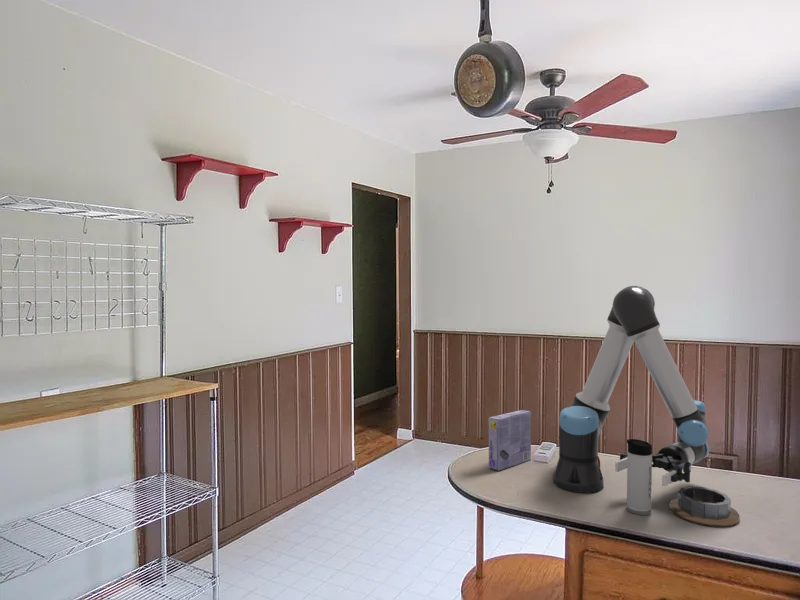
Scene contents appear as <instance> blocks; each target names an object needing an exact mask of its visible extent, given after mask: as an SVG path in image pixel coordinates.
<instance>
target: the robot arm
mask: <svg viewBox="0 0 800 600" xmlns="http://www.w3.org/2000/svg"><path fill="white" fill-rule="evenodd" d="M612 301H613V302H612V307H611V310H610V311H609V314H608V317H607V318H606V321H607V324H608V325H609V326H608V330H607V331H606V335H605V336H604V339H603V340H602V343H601V346H600V349H599V351H598V353H597V356H596V358H595V360H594V362H593V366H592V368H591V370H590V372H589V374H588V377H587V380H585V381H586V382H585V384H584V387H583V389H582V391H580V392H577V393H576V394H575V395H574V399H572V400H573V401H572V403H571V405H570V406H568V407H565V408H563V409H562V410H561V411H560V413H559V418H558V424H559V427H558V428H559V430H558V431H559V432H558V433H559V437H558V438H559V439H558V441H559V448H558V450H559V451H558V461H557V463H556V465H555V470H554V472H553V475H552V477H553V479H552V483H553V484H554V485H555V486H557V487H558V488H560V489H561V490H565V491H569V492H574V493H581V494H582V493H583V494H586V493H589V494H590V493H596V492H600V491H601V490H603V488H604V477H603V474H602V471H601V466H600V467H599V464H598V457H599V438H600V437H599V436H600V434H601V431H602V430H603V427H604V425H605V422H606V420H607V417H608V415H609V412H610V410H611V407H610V405H609V400H610V398H611V395H612V393H613V392H614V389H615V387H616V385H617V382H618V380H619V377H620V375H621V372H622V370H623V368H624V366H625V363H626V361H627V358H628V356H629V354H630V351H631V349H632V346H633V345H634V344H635V347H636V348H637V351H638V353H639V354H640V356H641V358H642V360H643V362H644V364H645V367H646V368H647V370H648V372H649V375H650V376H651V378H652V380H653V382H654V384H655V386H656V389H657V390H658V392H659V394H660V397H661V399H662V400H663V402H664V405H665V406H666V409H667V411H668V412H669V416H670V417H671V419H672V421H673V423H674V426H675V427H676V429H677V431H676V433H677V438H676V442H674V443H672V444H669V445H667V446H664V447H662V448H660V450H659V451H658V452H657V453H656V454H652V468H658V469H663V470H664V471H666V472H667V473H665V474H663V475H661V486H662V487H666V486H668V485H671V484H672V483H676V482H682V481H683V480H684V482H685V483H690V482H691V478H690V477H691V472H692V466H693V465H694V464H697V463H700V462H702V461H704V459H706V458H707V457H708V456H709V454H710V445H709V444H708V442H707V440H708V439H709V435H710V433H709V431H710V430H709V428H708V427H707V423H706V405H705V403H704V402H702V401H700V400H697V399H693V396H692V394H691V392H690V391H689V388H688V386H687V384H686V383H685V380H684V379H683V376H682V374H681V372H680V371H679V368H678V366H677V364H676V362H675V361H674V358H673V356H672V354H671V352H670V350H669V349H668V346H667V344H666V343H665V340H664V338H663V336H662V334H661V332H660V330H659V328H660V326H661V324H660V322H659V320H658V317H657V315H656V312H655V304H656V303H655V298H654V296H653V295H652V293H651V292H650V291H649V290H648V289H646V288H644V287H642V286H638V285H630V286H626V287H625V288H623V289H621V290H620V291H618V293H616V295H615V296H614V298H613V300H612ZM627 461H628V452H627V453H620V454H619V460H616V461H615V462H614V463H615V464H614V466H615V467H614V468H615V469H614V471H615V472H617V473H619V472H621V471H623V470H625V469H626V470H627Z"/></svg>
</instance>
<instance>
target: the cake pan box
mask: <svg viewBox="0 0 800 600" xmlns="http://www.w3.org/2000/svg"><path fill="white" fill-rule="evenodd" d="M531 415H532V412H531V410H523V409H520V410H515V411H512V412H507V413H502V414H498V415H493V416H490V417H489V416H488V468H490V469H493V470H494V471H497V472H499V471H502V470H505V469H507V468H512V467H516V466H519V464H523V463H526V462H528V461H531V460H532V458H531V457H532V456H531V455H532V454H531V453H532V451H531V450H532V435H531V434H532V431H531V430H532V426H531V425H532V423H531V422H532V418H531V417H532V416H531Z"/></svg>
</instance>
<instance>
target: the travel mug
mask: <svg viewBox="0 0 800 600" xmlns="http://www.w3.org/2000/svg"><path fill="white" fill-rule="evenodd" d="M626 444H627V453H628V461H627V468H626V470H627V472H626V476H627V477H626V510H627V511H628V512H629V513H632V514H634V515H637V516H647V515H650V514H651V513H652V483H653V482H652V481H653V480H652V477H653V473H652V472H653V467H652V464H653V462H652V455H653V451H652V450H653V446H652V444H651V443H649V442H648V441H645V440H641V439H636V438H630V439H626Z"/></svg>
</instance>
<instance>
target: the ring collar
mask: <svg viewBox="0 0 800 600" xmlns="http://www.w3.org/2000/svg"><path fill="white" fill-rule="evenodd" d="M731 503H732V500H731V498H730V497H729V496H728V495H727V494H726V493H723V492H721V491H719V490H717V489H713V488H708V487H705V486H704V487H703V486H692V485H691V486H684V487H681V488H680V489H679V490H678V491H677V497H676V498H673V499H671V501H670V502H669V507H668V508H669V510H670V512H671V513H672V514H673V515H675V516H676V517H677V518H679V519H682V520H684V521H686V522H689V523H692V524H696V525H700V526H704V527H709V528H710V527H712V528H727V527H734V526H737V525H738V524H739V522H740V513H739V512H738V510H736V509H734V507H732V506H731Z"/></svg>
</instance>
